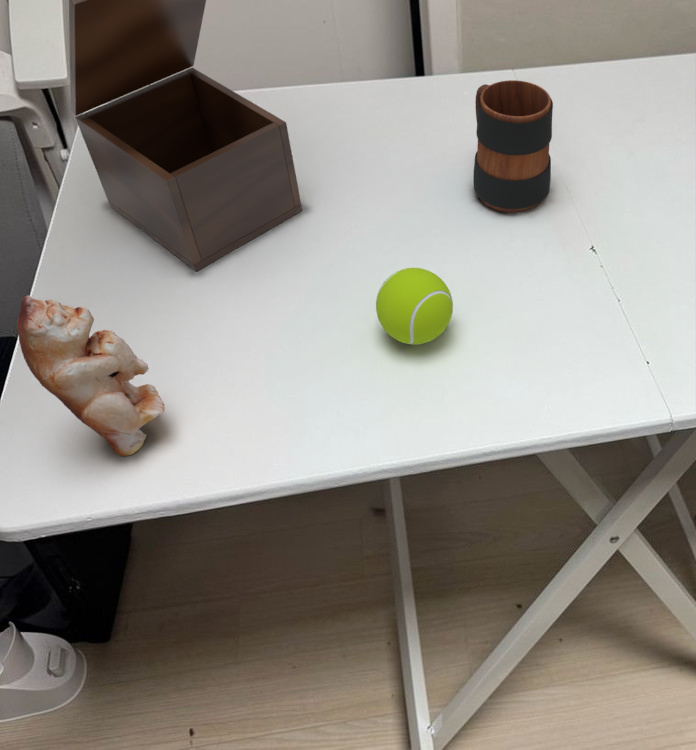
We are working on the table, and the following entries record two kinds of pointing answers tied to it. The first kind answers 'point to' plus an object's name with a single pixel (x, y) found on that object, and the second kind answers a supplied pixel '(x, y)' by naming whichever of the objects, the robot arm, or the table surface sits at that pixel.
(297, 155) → the table surface
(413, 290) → the tennis ball
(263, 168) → the chest
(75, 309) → the figurine
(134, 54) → the lid
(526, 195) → the mug
